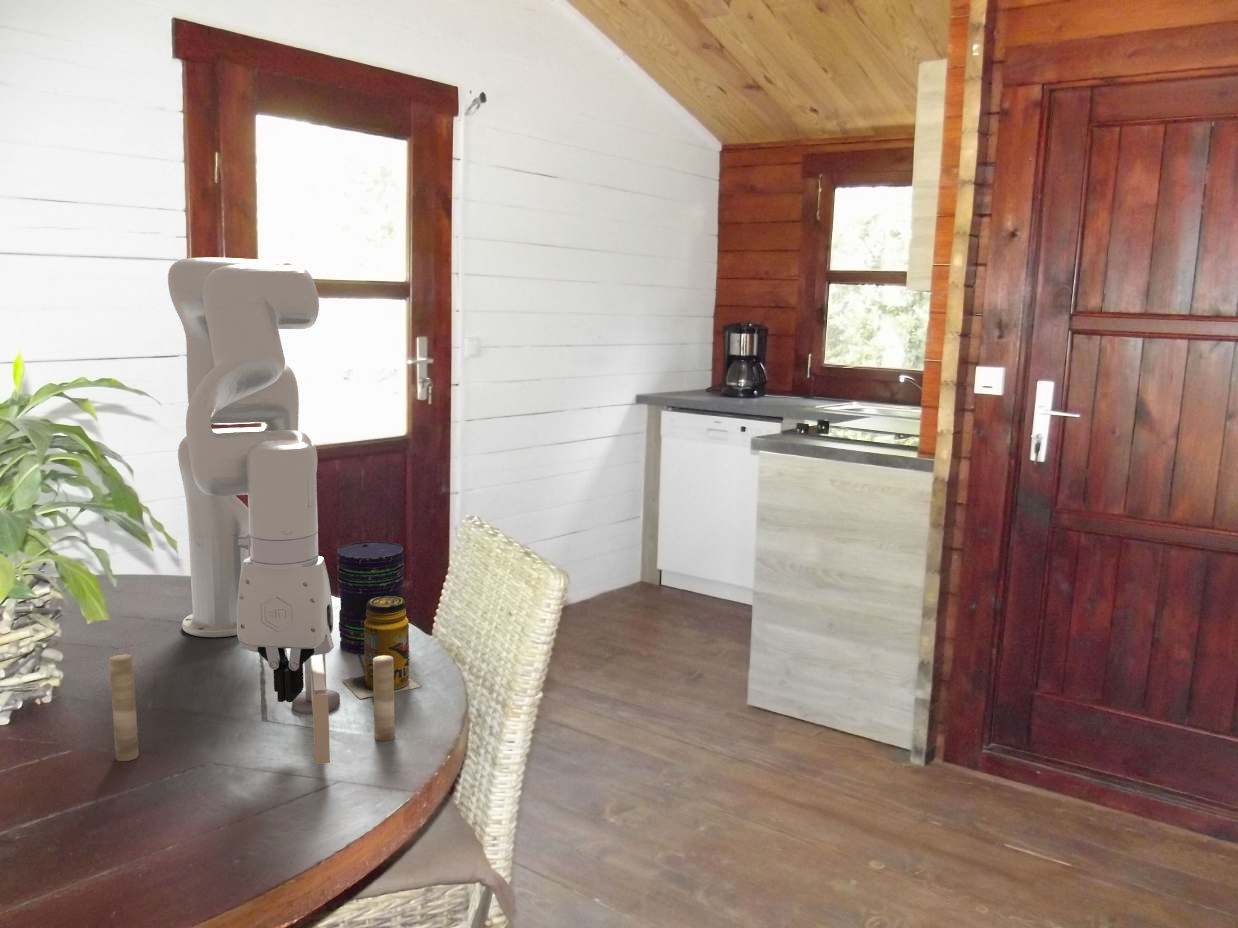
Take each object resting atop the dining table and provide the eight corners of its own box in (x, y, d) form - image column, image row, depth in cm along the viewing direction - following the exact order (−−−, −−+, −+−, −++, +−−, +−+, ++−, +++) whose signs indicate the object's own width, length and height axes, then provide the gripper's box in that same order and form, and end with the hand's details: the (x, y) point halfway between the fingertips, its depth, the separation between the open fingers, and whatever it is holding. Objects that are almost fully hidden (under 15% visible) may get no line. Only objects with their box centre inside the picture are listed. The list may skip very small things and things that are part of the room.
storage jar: (413, 649, 156) (412, 553, 153) (349, 659, 151) (346, 561, 149) (393, 629, 164) (392, 538, 162) (331, 638, 160) (329, 545, 157)
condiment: (419, 687, 142) (418, 603, 139) (360, 700, 137) (358, 613, 135) (399, 670, 148) (398, 589, 145) (342, 681, 143) (339, 598, 141)
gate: (305, 694, 135) (302, 614, 134) (325, 692, 136) (323, 612, 134) (310, 772, 114) (307, 678, 112) (334, 769, 115) (332, 676, 113)
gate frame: (108, 750, 121) (101, 652, 119) (329, 691, 139) (326, 606, 137) (162, 810, 107) (155, 702, 105) (398, 737, 126) (396, 643, 124)
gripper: (206, 553, 116) (213, 707, 119) (337, 559, 115) (340, 714, 118) (235, 537, 123) (241, 682, 126) (358, 542, 122) (360, 688, 125)
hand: (289, 697), depth 122 cm, fingers closed
